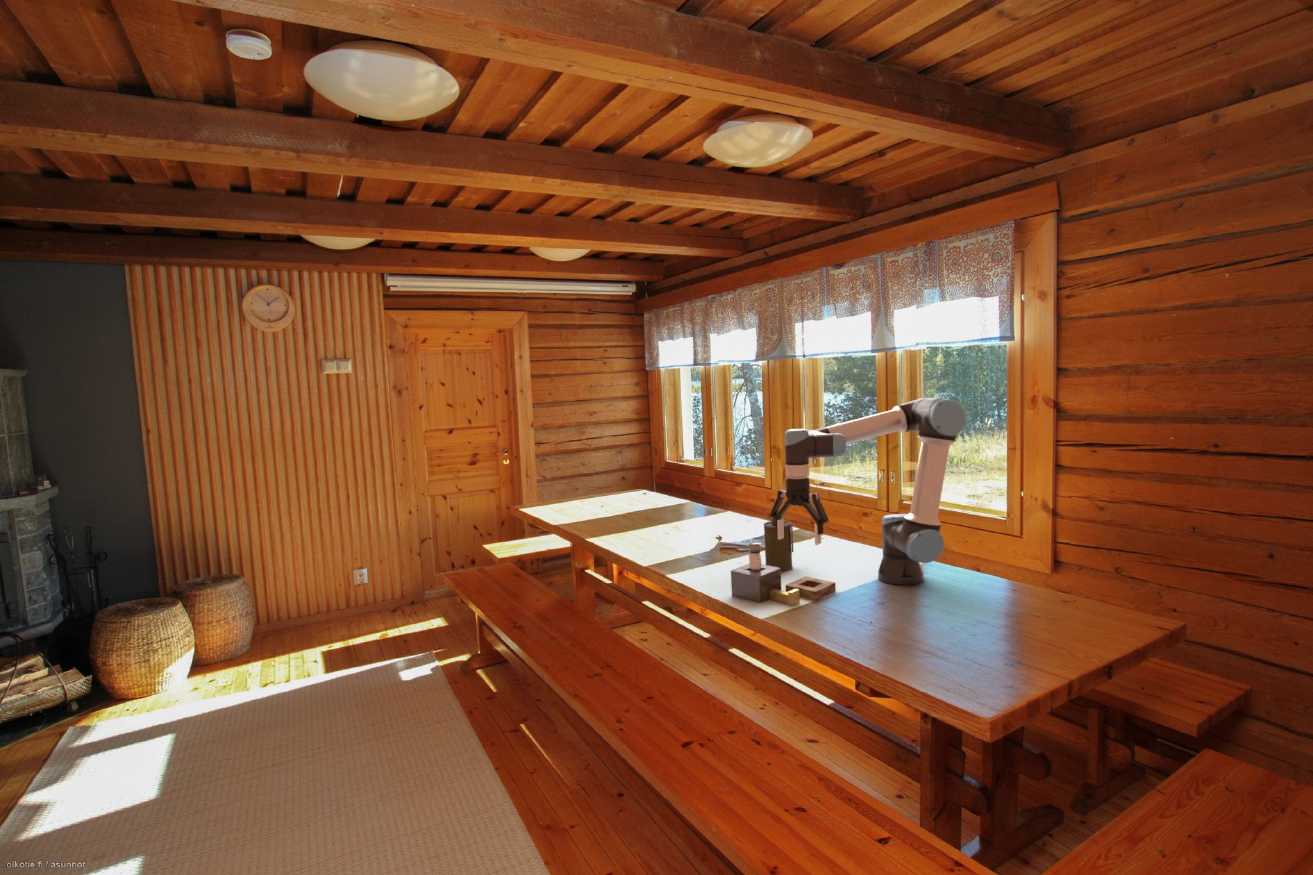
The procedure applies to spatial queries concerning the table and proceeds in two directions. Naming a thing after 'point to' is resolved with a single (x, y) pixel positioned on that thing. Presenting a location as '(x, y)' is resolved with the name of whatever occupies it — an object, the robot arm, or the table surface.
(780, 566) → the canister
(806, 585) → the brown flat square frame
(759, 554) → the pink cylindrical peg
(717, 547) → the table surface
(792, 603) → the yellow notched block
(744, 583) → the socket block
